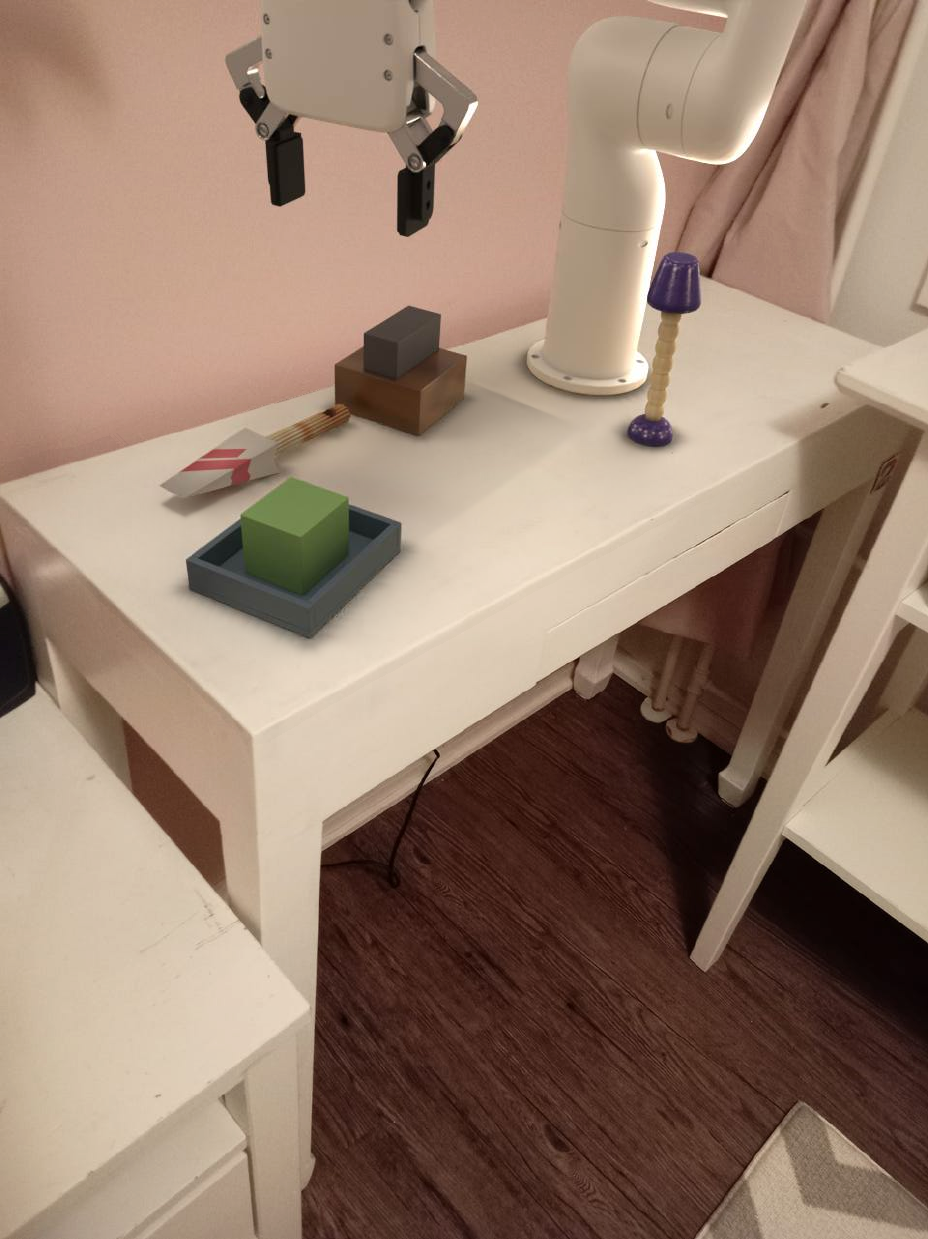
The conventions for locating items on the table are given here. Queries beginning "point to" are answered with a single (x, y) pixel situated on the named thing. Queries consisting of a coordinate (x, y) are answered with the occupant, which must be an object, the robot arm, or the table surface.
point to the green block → (295, 535)
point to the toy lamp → (666, 340)
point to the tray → (226, 581)
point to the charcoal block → (401, 342)
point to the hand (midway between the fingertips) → (349, 215)
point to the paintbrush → (250, 455)
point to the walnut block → (402, 391)
